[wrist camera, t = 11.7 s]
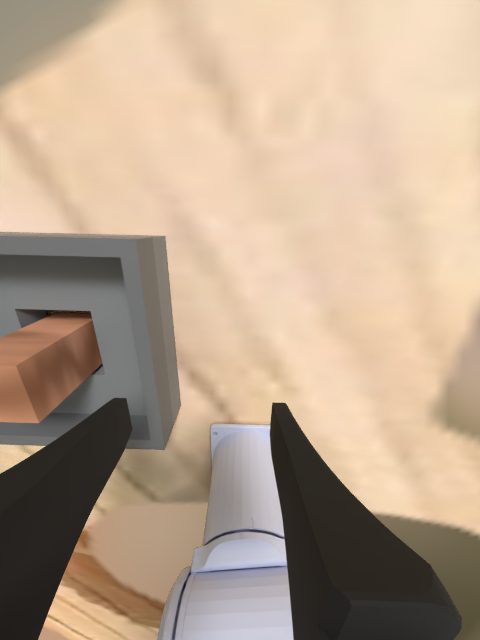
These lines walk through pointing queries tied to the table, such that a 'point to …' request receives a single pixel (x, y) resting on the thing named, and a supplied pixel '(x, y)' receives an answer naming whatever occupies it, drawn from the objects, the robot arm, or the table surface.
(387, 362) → the table surface
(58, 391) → the peg
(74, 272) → the hole box
